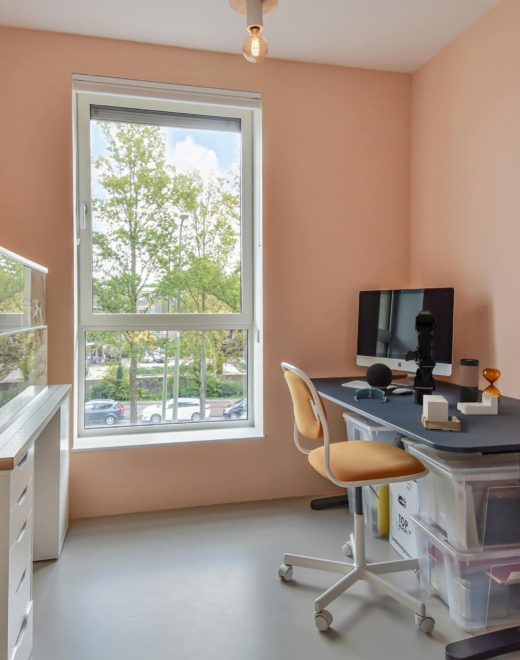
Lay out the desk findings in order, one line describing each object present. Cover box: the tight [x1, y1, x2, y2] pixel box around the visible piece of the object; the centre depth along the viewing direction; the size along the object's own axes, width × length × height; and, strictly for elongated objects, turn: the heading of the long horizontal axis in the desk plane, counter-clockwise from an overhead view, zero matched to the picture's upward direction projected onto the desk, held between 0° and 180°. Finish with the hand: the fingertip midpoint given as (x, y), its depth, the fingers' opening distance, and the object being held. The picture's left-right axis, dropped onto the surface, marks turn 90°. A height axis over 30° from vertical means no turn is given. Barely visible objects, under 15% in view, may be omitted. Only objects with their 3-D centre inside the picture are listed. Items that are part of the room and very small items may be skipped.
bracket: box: [456, 392, 499, 415], centre depth 191 cm, size 13×7×8 cm, turn 91°
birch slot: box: [421, 414, 462, 432], centre depth 167 cm, size 10×12×3 cm
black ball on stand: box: [365, 362, 394, 395], centre depth 236 cm, size 13×13×15 cm
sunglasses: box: [354, 387, 387, 404], centre depth 217 cm, size 14×15×5 cm
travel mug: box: [458, 358, 480, 403], centre depth 206 cm, size 8×8×20 cm
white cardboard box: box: [422, 394, 449, 421], centre depth 179 cm, size 14×7×8 cm, turn 167°
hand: (424, 381), depth 194 cm, fingers open, 7 cm apart
